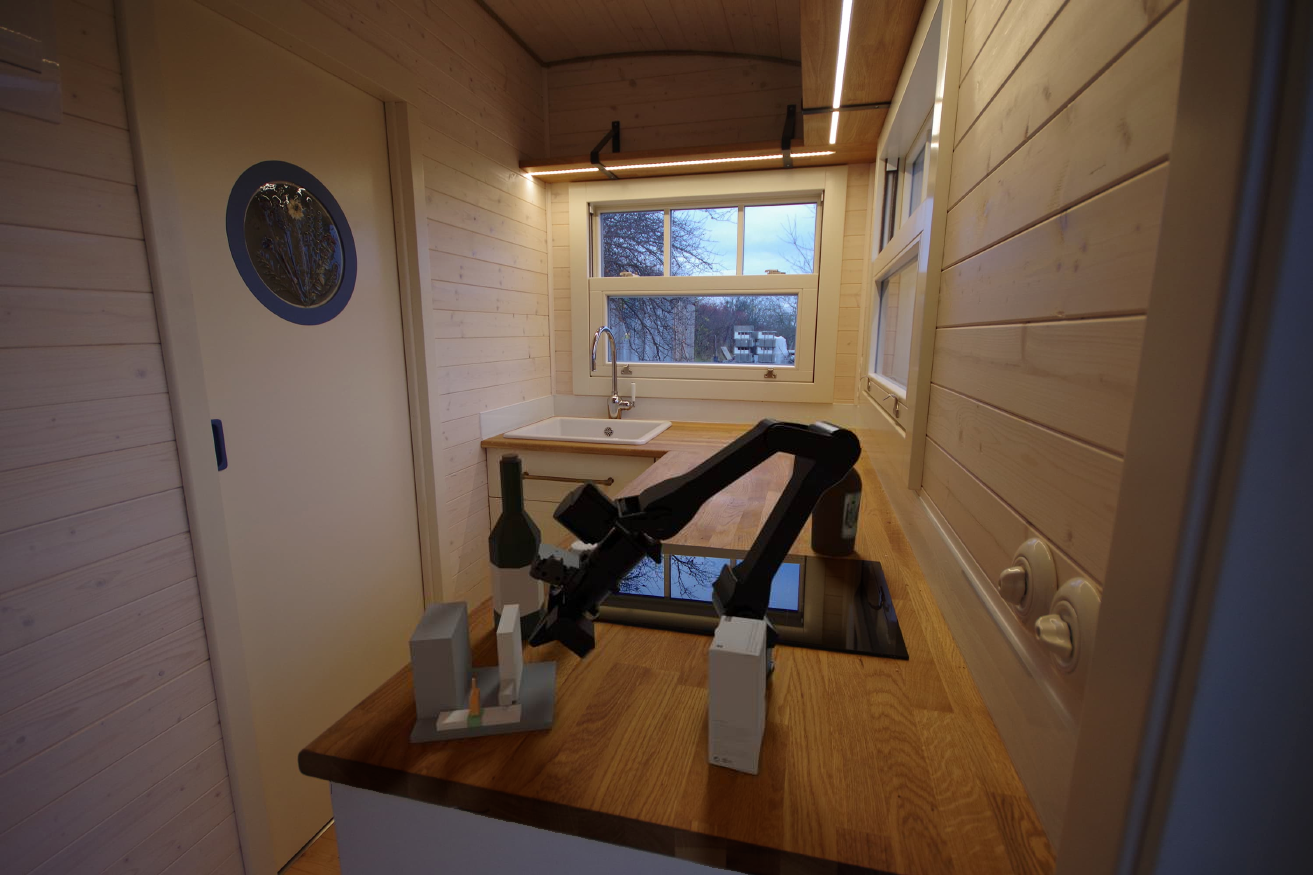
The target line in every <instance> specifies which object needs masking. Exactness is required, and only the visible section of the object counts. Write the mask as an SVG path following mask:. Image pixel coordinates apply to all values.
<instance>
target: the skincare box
mask: <svg viewBox="0 0 1313 875" xmlns="http://www.w3.org/2000/svg"><path fill="white" fill-rule="evenodd" d="M766 625H767V622H766V621H762V620H755V619H747V618H739V617H730V616H722V617H721V619H720V620H719V624H718V627H716V628H715V630H714V637H713V639H712V642H711V644H710V646H709V647H708V654H707V656H708V660H707V663H708V664H707V667H708V670H707V672H708V675H707V676H708V678H707V680H708V682H707V683H708V686H707V687H708V690H707V691H708V692H707V693H708V694H707V696H708V699H707V700H708V704H707V705H708V706H707V707H708V708H707V710H708V717H707V718H708V727H707V728H708V729H707V730H708V732H707V733H708V742H707V743H708V745H707V746H708V757H707V758H708V763H709V764H711V765H715V766H719V767H721V766H722V767H724V768H725V767H726V768H728V769H732V770H736V771H738V772H742V773H746V774H750V775H753V776H754V775H757V774H758V770H759V758H760V752H761V751H760V750H761V744H762V741H763V737H764V732H765V728H766V695H767V694H766V689H767V688H766V685H767V682H766Z"/></svg>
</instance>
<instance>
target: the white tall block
mask: <svg viewBox="0 0 1313 875" xmlns="http://www.w3.org/2000/svg"><path fill="white" fill-rule="evenodd" d="M496 644H497V657H498V658H497V659H498V666H499V673H500V691H499V706H503V705H512V701H515V700H517V699H518V693H519V687H520V681H521V675H522V670H523V664H524V663H523V646H522V640H521V629H520V614H519V604H515V605H504V608H503V612H502V615H501V619H500V623H499V626H498V630H497V633H496Z"/></svg>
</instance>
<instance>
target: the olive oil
mask: <svg viewBox="0 0 1313 875" xmlns="http://www.w3.org/2000/svg"><path fill="white" fill-rule="evenodd" d="M862 493H863V482H862V477H861V475H860V473H859V472H858V470H857V469H856V468H855V467H854V466H853V468H852V469H851V470H850V471H849V472H848V474H847V475H846V476H845V477H844V479H843V480H841V481H840V482H838V483H837V484H836V485H834V486H833V487H831V488H830V489H828V490H827V491H825V492H824V493H823V495H822V496H821V498H820V500H819V501H818V503H817V505H816V506H815V508H814V510H813V512H812V513H811V532H810V533H811V540H810V546H811V548H812V549H813V550H814V551H815V552H816V553H819V554H822V555H825V556H830V557H847V556H850V555H852V554H853V553H854V552H855V549H856V548H855V546H856V536H857V533H858V523H859V522H858V520H859V515H860V514H859V513H860V506H861V498H862Z"/></svg>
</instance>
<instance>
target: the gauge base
mask: <svg viewBox="0 0 1313 875" xmlns="http://www.w3.org/2000/svg"><path fill="white" fill-rule="evenodd" d="M467 603H468V602H467V601H465V600H464V601H453V602H452V601H450V602H437V603H428V606H427V607H426V609H425V611H424V612H423V615H422V616H421V618H420V620H419V621H418V623H417V625H416V627H415V629H414V631H413V633H412V634H411V636H410V638H409V640H408V645H409V654H410V655H409V656H410V663H411V671H412V681H413V691H414V699H415V707H416V715H417V716H416V718H417V719H416V722H415V724H414V726H413V728H412V731H411V734H410V738H409V739H410V744H418V743H429V742H437V741H447V740H456V739H457V740H458V739H467V738H476V737H477V738H478V737H484V736H485V737H486V736H495V735H502V734H503V735H504V734H513V733H525V732H531V731H532V732H533V731H541V730H551V729H553V724H554V722H553V721H554V710H555V709H554V708H555V697H556V696H555V694H556V682H557V669H558V668H557V665H558V664H557V660H552V661H550V660H549V661H542V662H541V661H539V662H530V663H528V662H527V663H523V670H522V675H521V681H520V687H519V693H518V699H517V700H515V701H512V705H503V706H499V691H500V673H499V665H496V666H493V665H492V666H484V667H473V662H472V661H473V660H472V650H471V640H470V639H471V638H470V637H471V636H470V628H469V617H468V604H467ZM472 678H475V687H476V688H480V694H481V708H480V712H479V715H470V706H469V696H470V693H471V690H472V689H473V688H472Z"/></svg>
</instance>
